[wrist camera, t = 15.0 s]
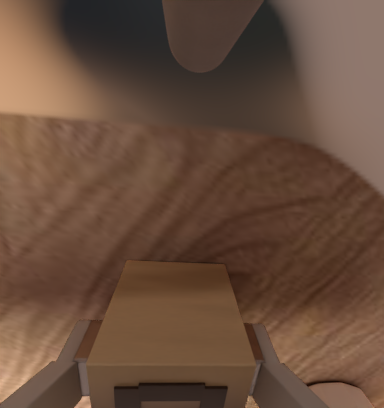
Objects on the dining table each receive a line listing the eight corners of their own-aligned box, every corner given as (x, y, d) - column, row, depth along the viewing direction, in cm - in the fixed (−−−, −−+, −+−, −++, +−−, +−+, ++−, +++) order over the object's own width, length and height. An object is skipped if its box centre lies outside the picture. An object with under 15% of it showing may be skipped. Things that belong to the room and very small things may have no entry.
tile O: (126, 259, 10) (83, 367, 5) (225, 263, 10) (258, 368, 6) (128, 332, 11) (96, 461, 7) (213, 333, 12) (233, 457, 7)
